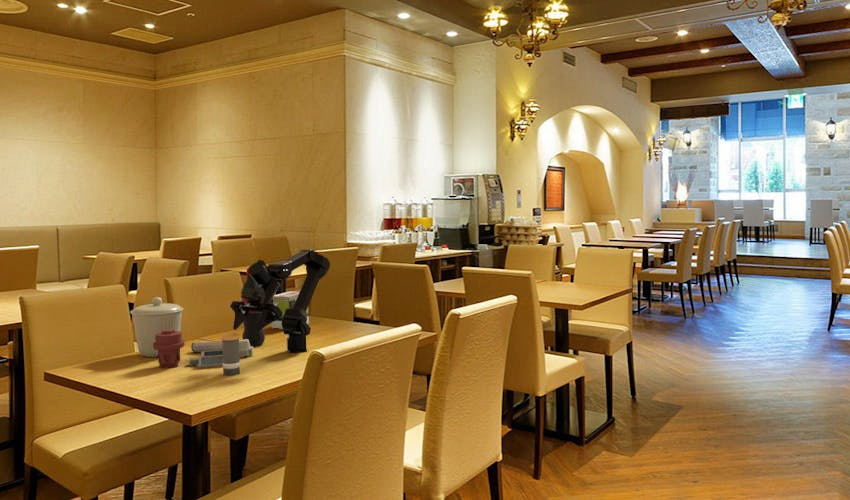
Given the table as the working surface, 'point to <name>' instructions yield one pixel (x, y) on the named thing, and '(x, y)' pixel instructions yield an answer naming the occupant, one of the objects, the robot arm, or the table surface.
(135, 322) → the canister
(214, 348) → the light grey elongated piece
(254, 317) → the cola bottle
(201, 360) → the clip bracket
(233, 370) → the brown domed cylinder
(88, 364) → the table surface
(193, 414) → the table surface
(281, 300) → the tea box
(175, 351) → the mechanical component
